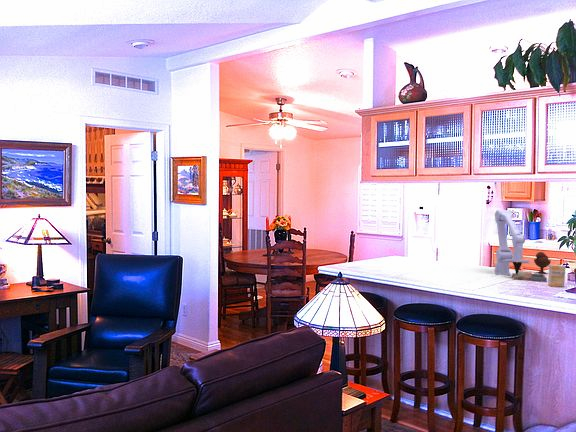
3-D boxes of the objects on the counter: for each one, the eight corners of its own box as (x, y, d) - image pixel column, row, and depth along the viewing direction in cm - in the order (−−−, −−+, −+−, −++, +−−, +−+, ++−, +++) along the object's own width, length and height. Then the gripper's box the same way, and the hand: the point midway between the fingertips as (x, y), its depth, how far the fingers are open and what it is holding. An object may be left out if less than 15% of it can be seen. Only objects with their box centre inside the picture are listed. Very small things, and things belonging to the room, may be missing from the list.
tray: (531, 280, 365) (531, 277, 365) (528, 277, 379) (528, 273, 379) (546, 281, 362) (546, 278, 362) (543, 278, 376) (543, 274, 376)
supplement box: (550, 286, 346) (551, 265, 345) (547, 285, 351) (549, 264, 350) (564, 287, 345) (565, 265, 344) (561, 285, 350) (563, 264, 349)
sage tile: (518, 275, 372) (518, 271, 372) (518, 274, 376) (518, 271, 376) (525, 276, 371) (525, 272, 371) (524, 275, 375) (524, 271, 374)
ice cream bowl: (548, 275, 389) (549, 253, 388) (531, 273, 396) (532, 252, 395) (551, 273, 397) (553, 252, 396) (535, 271, 404) (536, 250, 403)
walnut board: (514, 279, 368) (514, 276, 368) (512, 276, 382) (512, 273, 381) (530, 280, 365) (530, 277, 365) (528, 277, 379) (528, 274, 379)
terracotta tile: (525, 276, 371) (525, 272, 371) (524, 275, 375) (524, 271, 374) (531, 276, 370) (531, 272, 369) (531, 275, 373) (531, 271, 373)
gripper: (506, 253, 371) (505, 273, 372) (530, 254, 367) (529, 275, 368) (505, 252, 378) (504, 272, 379) (529, 253, 374) (528, 273, 375)
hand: (516, 273), depth 374 cm, fingers closed
